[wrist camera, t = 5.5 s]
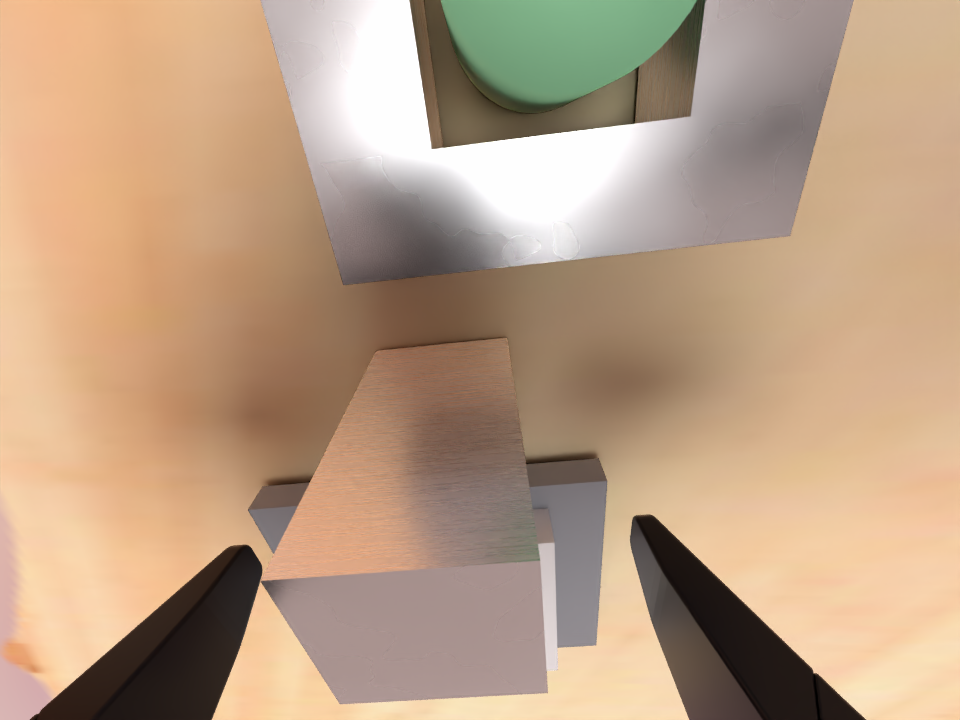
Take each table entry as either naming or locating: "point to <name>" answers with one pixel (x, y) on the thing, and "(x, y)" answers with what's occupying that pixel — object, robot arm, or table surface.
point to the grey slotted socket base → (560, 534)
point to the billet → (420, 536)
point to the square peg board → (555, 142)
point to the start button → (555, 45)
